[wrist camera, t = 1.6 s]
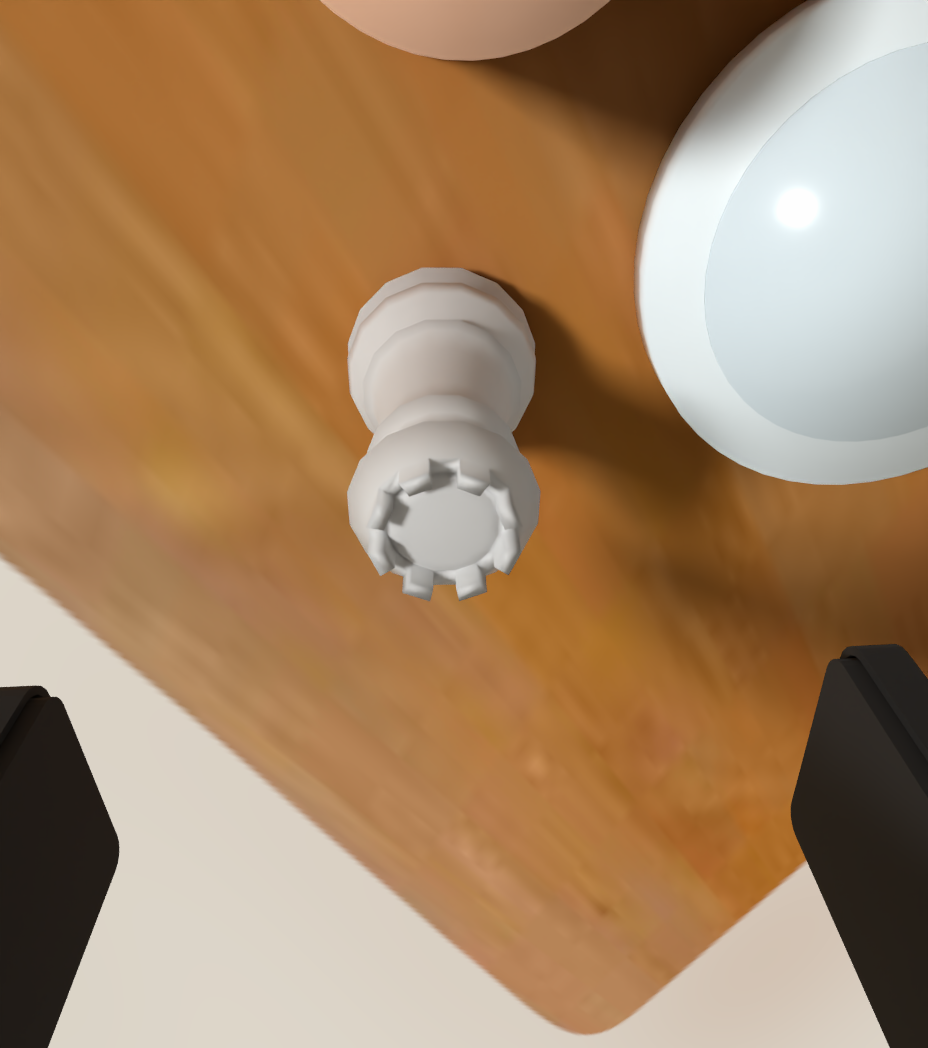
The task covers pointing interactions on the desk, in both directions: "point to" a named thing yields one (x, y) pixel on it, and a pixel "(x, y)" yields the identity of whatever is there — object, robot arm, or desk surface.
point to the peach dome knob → (464, 24)
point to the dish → (799, 249)
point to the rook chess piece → (442, 430)
